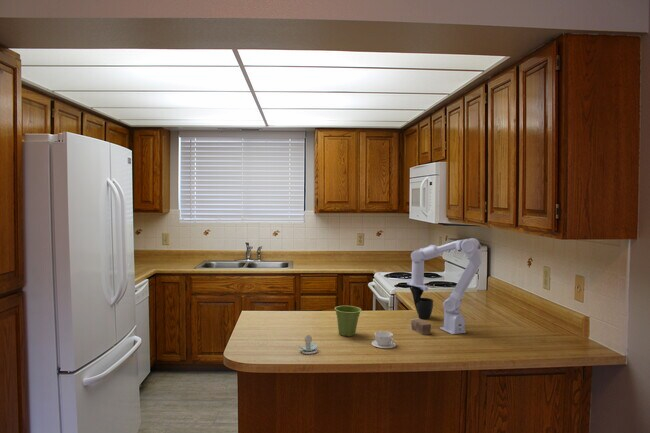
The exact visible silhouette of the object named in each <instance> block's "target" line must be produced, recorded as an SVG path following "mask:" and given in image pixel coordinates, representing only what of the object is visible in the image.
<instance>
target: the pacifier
mask: <svg viewBox="0 0 650 433" xmlns="http://www.w3.org/2000/svg"><path fill="white" fill-rule="evenodd" d="M312 341H313V338H312V336H311V335H309V334H307V335H305V337H304V342H305V346H302V345H299V346H298V348H300V349H301V350H302V352H301V353H302V354H305V355H312V354H316V353H319V352H318V351H319V350H318V349H317V348H318V343H312Z"/></svg>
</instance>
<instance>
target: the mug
mask: <svg viewBox="0 0 650 433" xmlns="http://www.w3.org/2000/svg"><path fill="white" fill-rule="evenodd" d="M413 303H414V307H415V310H416V312H417V316H418V319H421V320H430V318H431V316H432V313H433V307H434V300H433V299H432V298H429V297H421V298H420V301H419V303H415V302H414V301H413Z"/></svg>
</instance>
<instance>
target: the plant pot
mask: <svg viewBox="0 0 650 433" xmlns="http://www.w3.org/2000/svg"><path fill="white" fill-rule="evenodd" d="M334 311H335V315H336V318H337V320H336V322H337V329H338V334H339V335H341V336H346V337H352V336H355V335H356V331H357V326H358V321H359V317H360V314H361V312H362V308H361V307H357V306H355V305H354V306H353V305H339V306H335V307H334Z"/></svg>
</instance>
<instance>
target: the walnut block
mask: <svg viewBox="0 0 650 433" xmlns="http://www.w3.org/2000/svg"><path fill="white" fill-rule="evenodd" d="M410 330H412V331H414V332H415V333H418V334H420V335H422V336H424V335H431V334H432V323H429V322H427V321H425V320H424V319H420V318H412V319H410Z"/></svg>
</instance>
